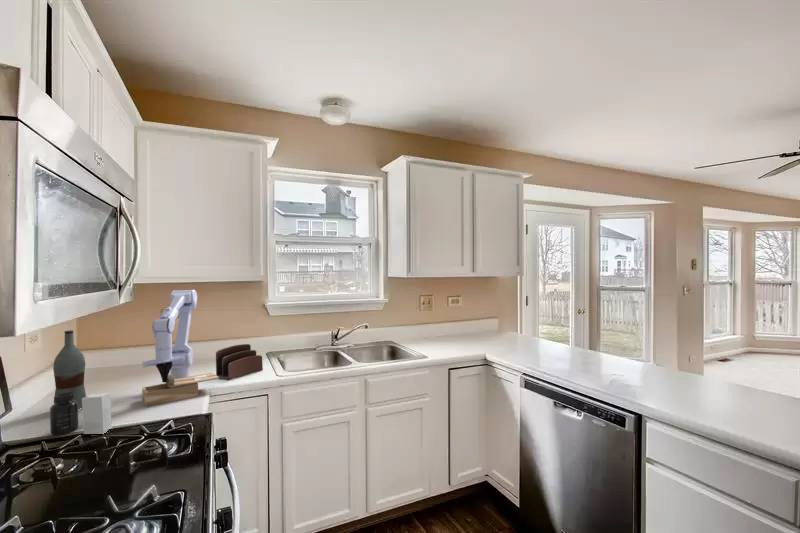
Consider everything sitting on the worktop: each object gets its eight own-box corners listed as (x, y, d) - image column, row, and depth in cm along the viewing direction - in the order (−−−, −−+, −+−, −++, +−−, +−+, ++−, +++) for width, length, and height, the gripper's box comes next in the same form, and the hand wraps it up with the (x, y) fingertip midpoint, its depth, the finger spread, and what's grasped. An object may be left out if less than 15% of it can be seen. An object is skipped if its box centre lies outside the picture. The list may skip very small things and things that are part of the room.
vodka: (46, 414, 138) (45, 333, 139) (67, 406, 147) (65, 329, 148) (73, 413, 139) (72, 332, 139) (92, 404, 148) (90, 328, 148)
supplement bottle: (49, 431, 122) (49, 394, 122) (77, 425, 127) (77, 389, 127) (50, 438, 117) (50, 399, 117) (79, 431, 122) (78, 393, 122)
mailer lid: (165, 382, 157) (165, 375, 157) (212, 373, 169) (211, 366, 169) (170, 388, 148) (170, 380, 149) (218, 378, 160) (218, 371, 160)
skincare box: (112, 429, 122) (111, 392, 122) (103, 435, 117) (102, 396, 118) (92, 431, 121) (91, 393, 122) (81, 437, 117) (81, 398, 117)
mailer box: (142, 399, 152) (142, 387, 152) (192, 389, 163) (191, 378, 163) (146, 406, 143) (145, 393, 143) (198, 395, 155) (198, 383, 155)
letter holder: (215, 378, 182) (215, 349, 182) (250, 368, 199) (249, 342, 199) (228, 380, 177) (228, 350, 177) (263, 370, 194) (262, 343, 194)
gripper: (143, 352, 145) (144, 387, 144) (186, 346, 154) (186, 379, 154) (141, 350, 150) (142, 384, 150) (182, 344, 159) (183, 376, 159)
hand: (164, 381), depth 152 cm, fingers closed
